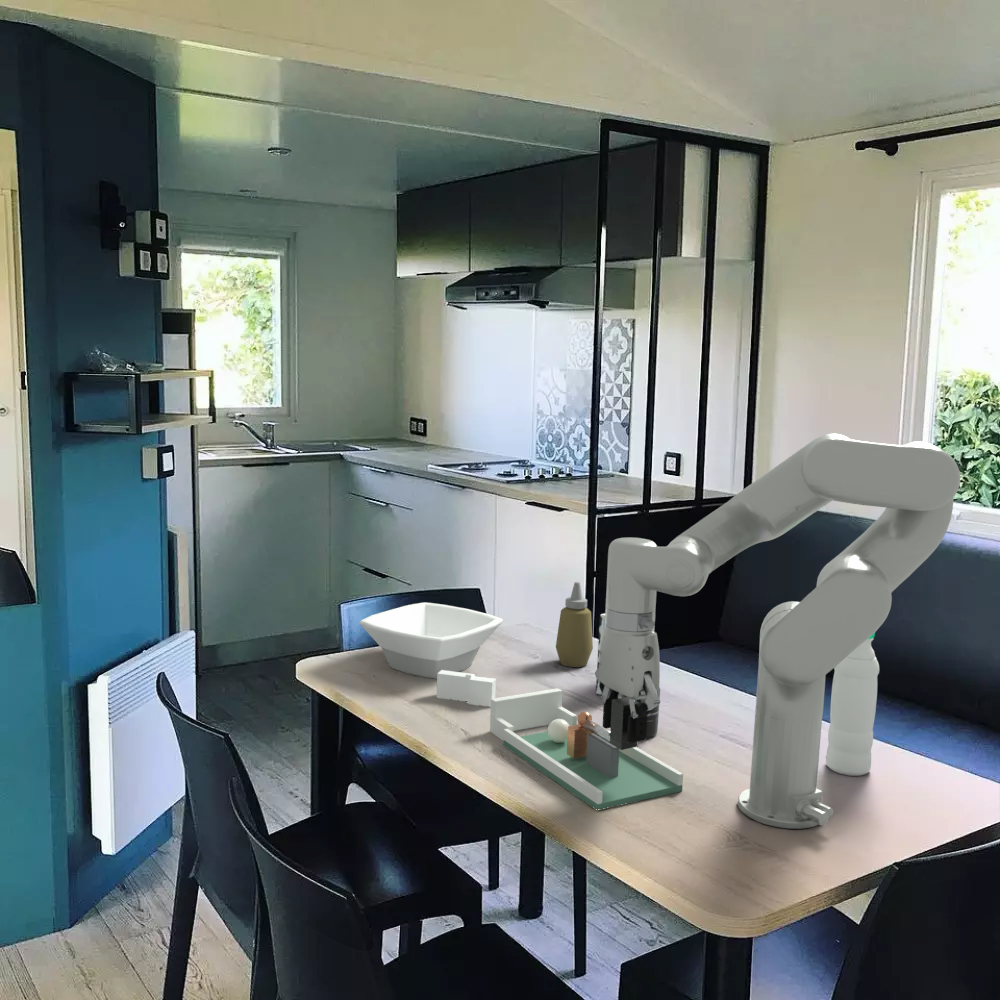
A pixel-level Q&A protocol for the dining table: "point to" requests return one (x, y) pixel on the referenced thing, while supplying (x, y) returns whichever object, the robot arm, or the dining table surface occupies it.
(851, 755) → the water bottle
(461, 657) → the bowl
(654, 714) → the supplement bottle
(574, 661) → the squeeze bottle
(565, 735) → the ball
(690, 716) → the dining table surface
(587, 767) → the pitch
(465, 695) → the white stepped block
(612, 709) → the copper block with rod
